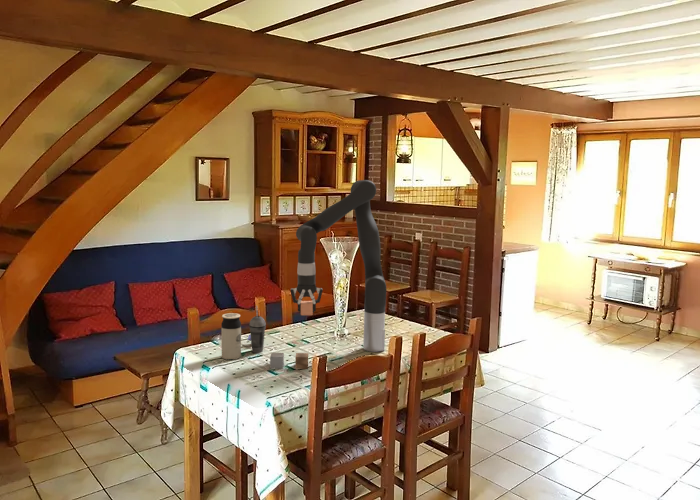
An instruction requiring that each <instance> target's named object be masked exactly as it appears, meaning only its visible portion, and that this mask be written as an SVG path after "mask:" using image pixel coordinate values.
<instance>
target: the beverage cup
mask: <svg viewBox="0 0 700 500" xmlns="http://www.w3.org/2000/svg"><path fill="white" fill-rule="evenodd" d="M255 311H256V312H255V313H256V316H253V317H252V318H251V319H250V321H249V325H248V327H249V331H250V332H251V334H250V335H251V341H250V345H251V349H252V350H251V351H252V353H253V354H255V353H256V354H259V353H263V351H264V346H265V345H264V343H265V335H266V334H265V332H266V327H267V323H266V320H265V319H264V317H262V316H260V315H258V305H256V308H255ZM250 332H249V333H250Z"/></svg>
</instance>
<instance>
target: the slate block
mask: <svg viewBox="0 0 700 500" xmlns="http://www.w3.org/2000/svg"><path fill="white" fill-rule="evenodd" d="M284 354H285V353H284V352H271V353H270V357H269V359H270V360H269V368H270V369H271V370H272V369H273V370H274V369H275V370H283V369H284V364H285V363H284V362H285V361H284V360H285V357H284V356H285V355H284Z"/></svg>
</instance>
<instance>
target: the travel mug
mask: <svg viewBox="0 0 700 500" xmlns="http://www.w3.org/2000/svg"><path fill="white" fill-rule="evenodd" d="M221 315H222V316H221V317H222V322H221V323H220V324H221V325H220V326H221V358H222V359H224V360H227V359H233V360H237V359H239V358H241V357H242V322H241V320H240V317H241V314H240V313H235V312H234V313H233V312H229V313H224V314H221Z"/></svg>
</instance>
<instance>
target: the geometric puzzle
mask: <svg viewBox="0 0 700 500" xmlns="http://www.w3.org/2000/svg"><path fill="white" fill-rule="evenodd" d="M246 341H247V342H249V343H250V342H251V332H249V334H248V337H247V340H246Z"/></svg>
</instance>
